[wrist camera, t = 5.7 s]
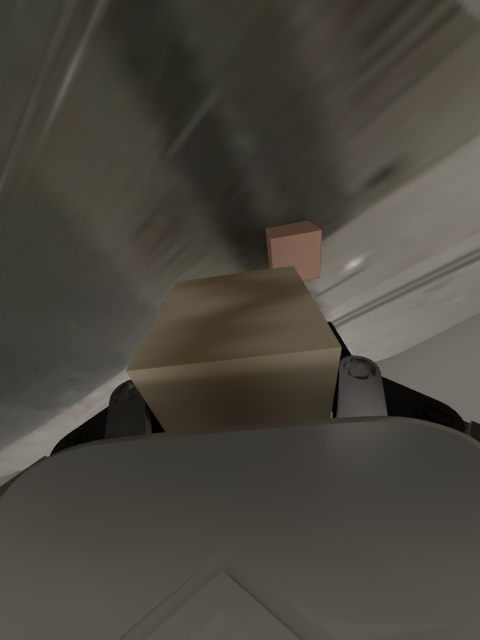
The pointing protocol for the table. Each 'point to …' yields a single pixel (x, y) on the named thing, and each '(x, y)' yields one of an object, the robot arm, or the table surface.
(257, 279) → the base block
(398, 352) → the table surface
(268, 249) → the top block
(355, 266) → the table surface
